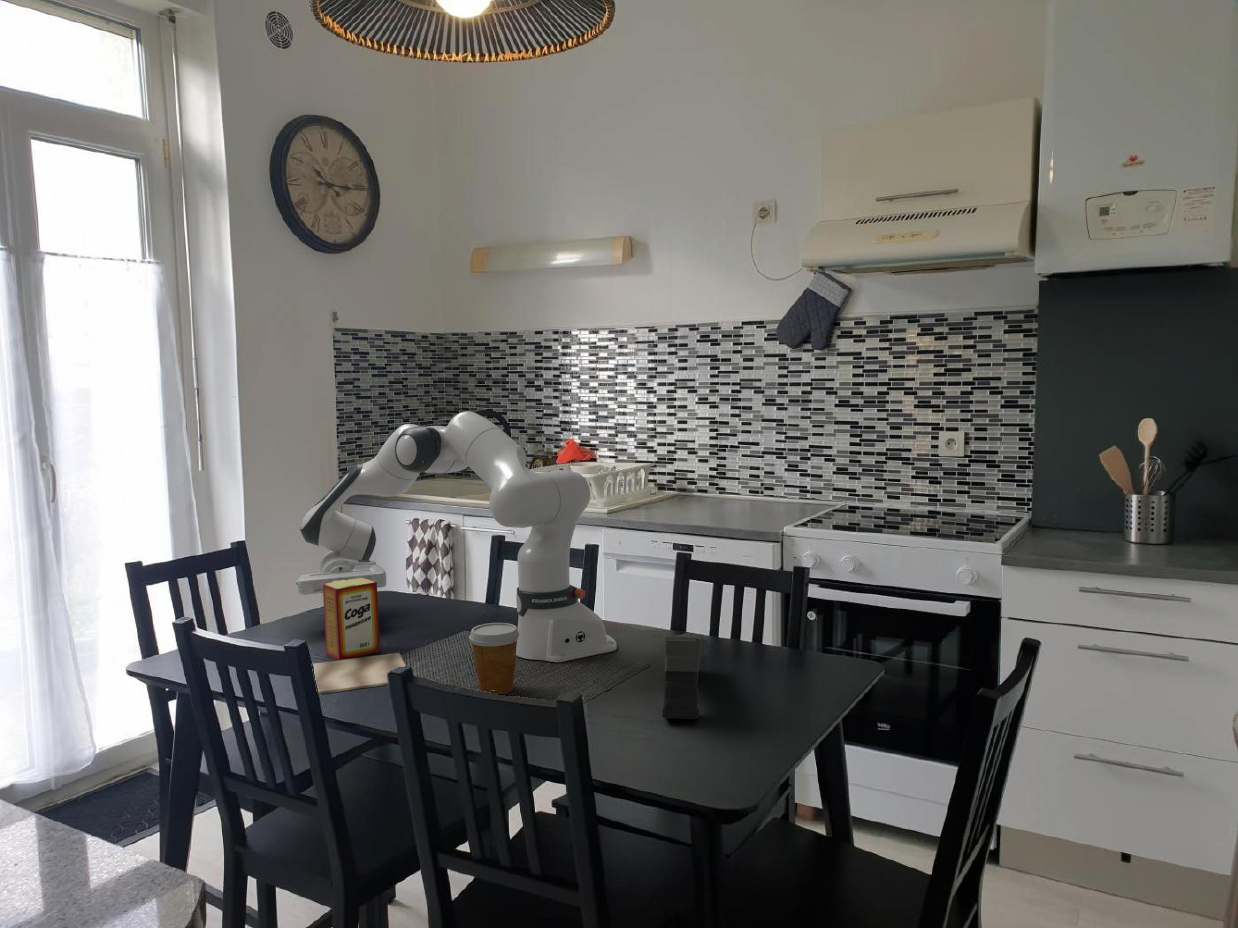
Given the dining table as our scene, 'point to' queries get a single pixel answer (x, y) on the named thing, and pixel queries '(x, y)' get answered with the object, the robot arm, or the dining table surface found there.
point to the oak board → (355, 672)
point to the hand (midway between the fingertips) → (345, 588)
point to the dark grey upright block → (683, 675)
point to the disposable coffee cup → (495, 656)
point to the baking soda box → (351, 618)
